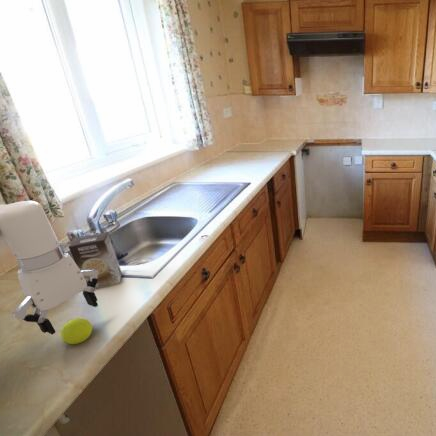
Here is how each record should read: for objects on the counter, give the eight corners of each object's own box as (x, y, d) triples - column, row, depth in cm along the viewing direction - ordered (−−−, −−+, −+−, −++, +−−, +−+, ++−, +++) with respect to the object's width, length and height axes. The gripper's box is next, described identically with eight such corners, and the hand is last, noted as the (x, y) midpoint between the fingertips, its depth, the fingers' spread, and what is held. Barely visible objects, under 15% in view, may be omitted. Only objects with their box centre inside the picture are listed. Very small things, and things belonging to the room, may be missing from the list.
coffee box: (86, 293, 97) (66, 247, 91) (91, 281, 103) (72, 237, 96) (120, 285, 100) (103, 239, 94) (123, 274, 106) (107, 231, 99)
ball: (75, 352, 76) (66, 333, 74) (61, 345, 79) (51, 326, 76) (100, 335, 81) (92, 316, 79) (86, 328, 84) (77, 310, 81)
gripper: (73, 236, 78) (99, 293, 86) (-18, 276, 64) (22, 339, 72) (92, 241, 75) (117, 299, 83) (1, 283, 61) (40, 349, 69)
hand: (73, 317), depth 77 cm, fingers open, 9 cm apart
